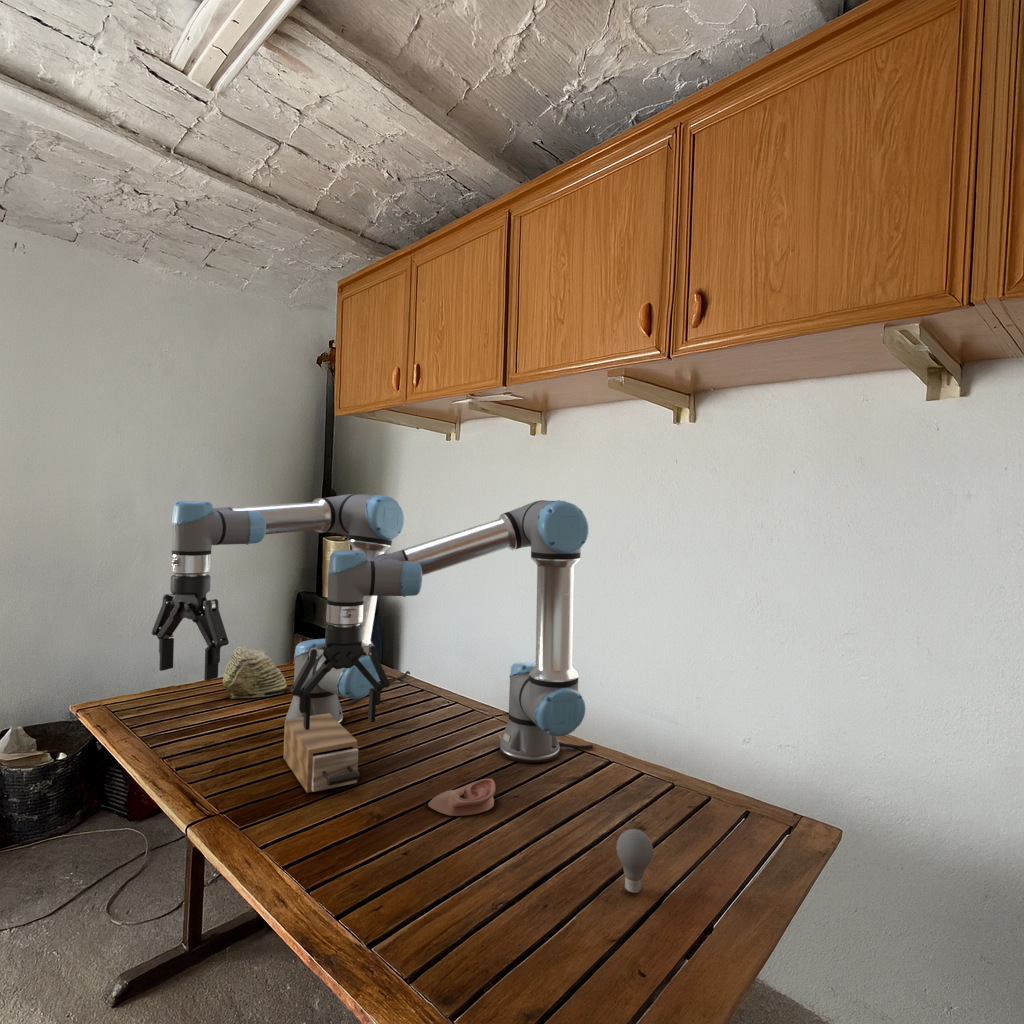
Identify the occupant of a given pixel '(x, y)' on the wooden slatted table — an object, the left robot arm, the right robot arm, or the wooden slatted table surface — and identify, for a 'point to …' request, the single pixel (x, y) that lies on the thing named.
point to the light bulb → (634, 857)
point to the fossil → (252, 674)
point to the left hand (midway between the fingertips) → (188, 674)
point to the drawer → (334, 768)
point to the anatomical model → (466, 799)
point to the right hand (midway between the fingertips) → (339, 723)
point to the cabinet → (312, 743)
